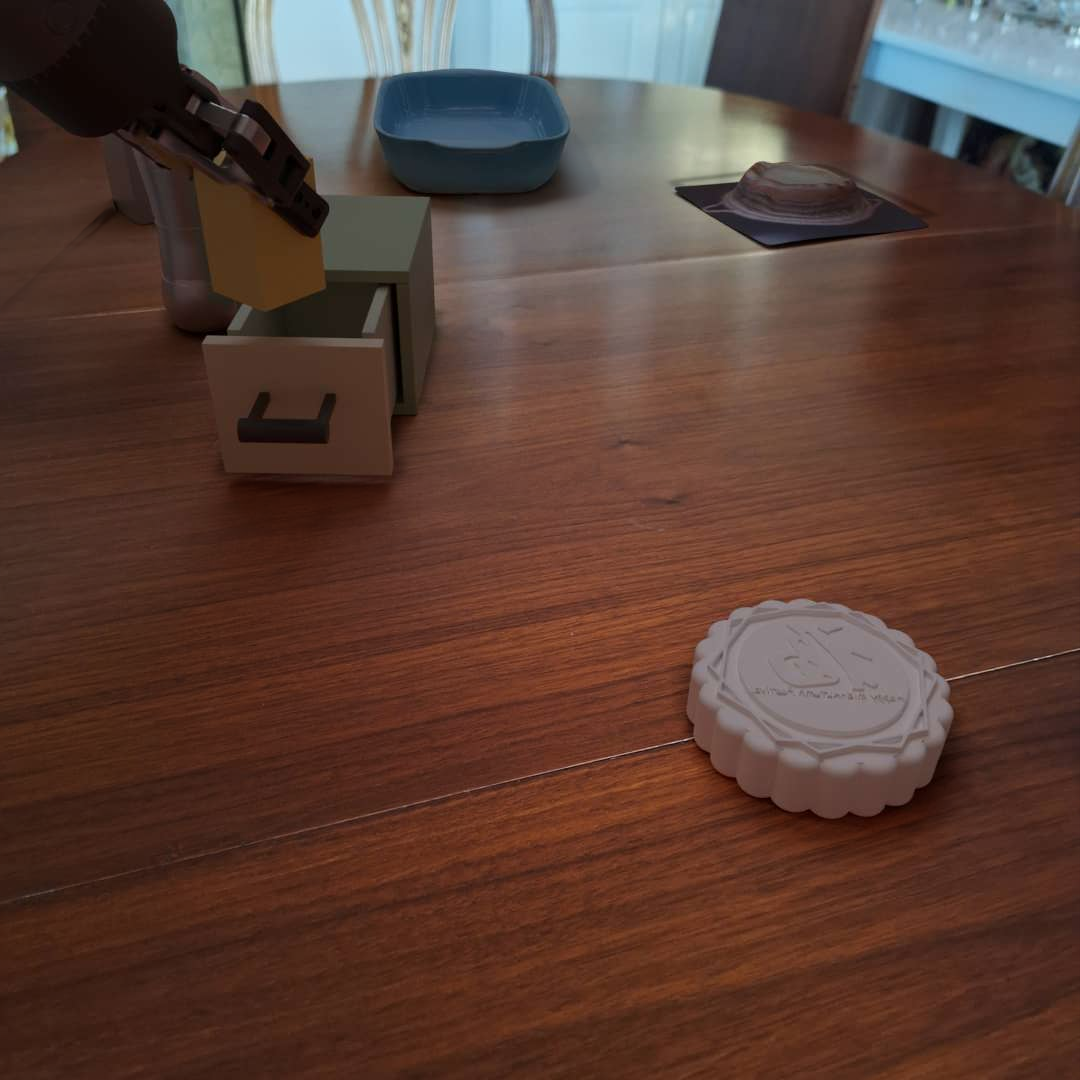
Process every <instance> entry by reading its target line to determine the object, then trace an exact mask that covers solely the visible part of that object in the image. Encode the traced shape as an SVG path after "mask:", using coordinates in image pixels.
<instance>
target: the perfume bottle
mask: <svg viewBox="0 0 1080 1080" xmlns="http://www.w3.org/2000/svg"><path fill="white" fill-rule="evenodd" d="M98 138H99V143H100V147H101V152H102V156H103V161H104V165H105V169H106V175H107V179H108V182H109V183H108V184H109V188H110V191H111V197H112V199H113V200H114V201H113V205H114V209H115V210H117V211H118V212H120V214H122V215H124V216H126V217H127V218H128V219H130V220H132V221H133V222H134V223H136V224H137V225H139V226H145V225H148V224H155V217H154V216H153V213H152V209H151V205H150V201H149V197H148V194H147V191H146V188H145V185H144V182H143V180H142V177H141V174H140V171H139V168H138V165H137V161H136V159H135V156H134V152H133V149H132V146H130V145H129V144H127V143H126V142H124V141H123V140H122V139H120V138H119V137H117V136H116V135H114V134H113V133H111V134H109V135H105V136H101V137H98Z"/></svg>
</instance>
